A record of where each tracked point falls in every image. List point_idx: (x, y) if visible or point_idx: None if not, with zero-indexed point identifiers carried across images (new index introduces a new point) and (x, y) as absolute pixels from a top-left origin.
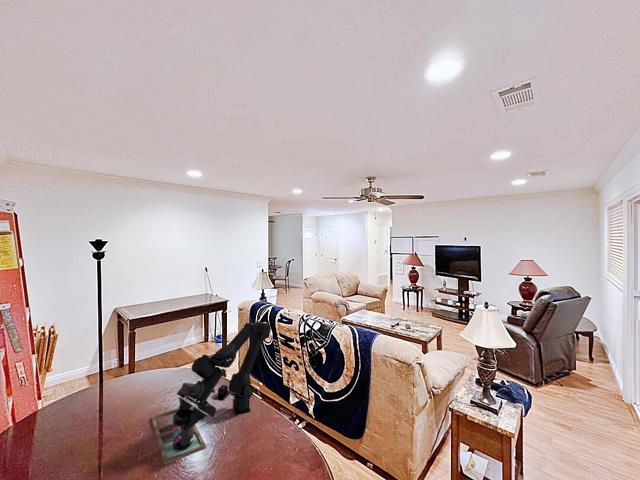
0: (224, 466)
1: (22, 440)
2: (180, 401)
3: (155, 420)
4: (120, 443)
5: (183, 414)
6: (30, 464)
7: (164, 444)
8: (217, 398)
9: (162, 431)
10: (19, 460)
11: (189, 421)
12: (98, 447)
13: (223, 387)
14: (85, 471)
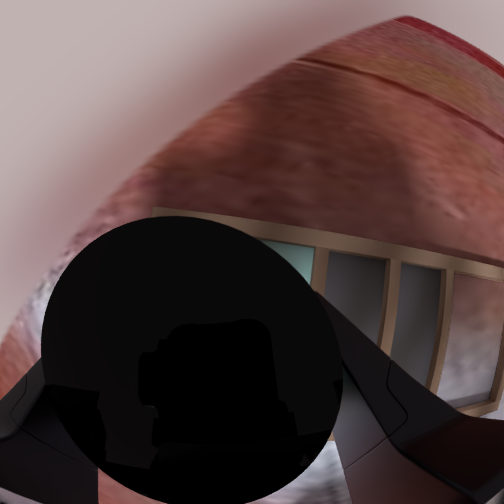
0: (17, 372)
1: (490, 63)
2: (484, 440)
3: (497, 277)
4: (433, 138)
5: (171, 386)
6: (422, 31)
7: (313, 257)
8: None
9: (427, 285)
10: (440, 33)
11: (40, 363)
12: (437, 99)
13: None
14: (338, 47)
